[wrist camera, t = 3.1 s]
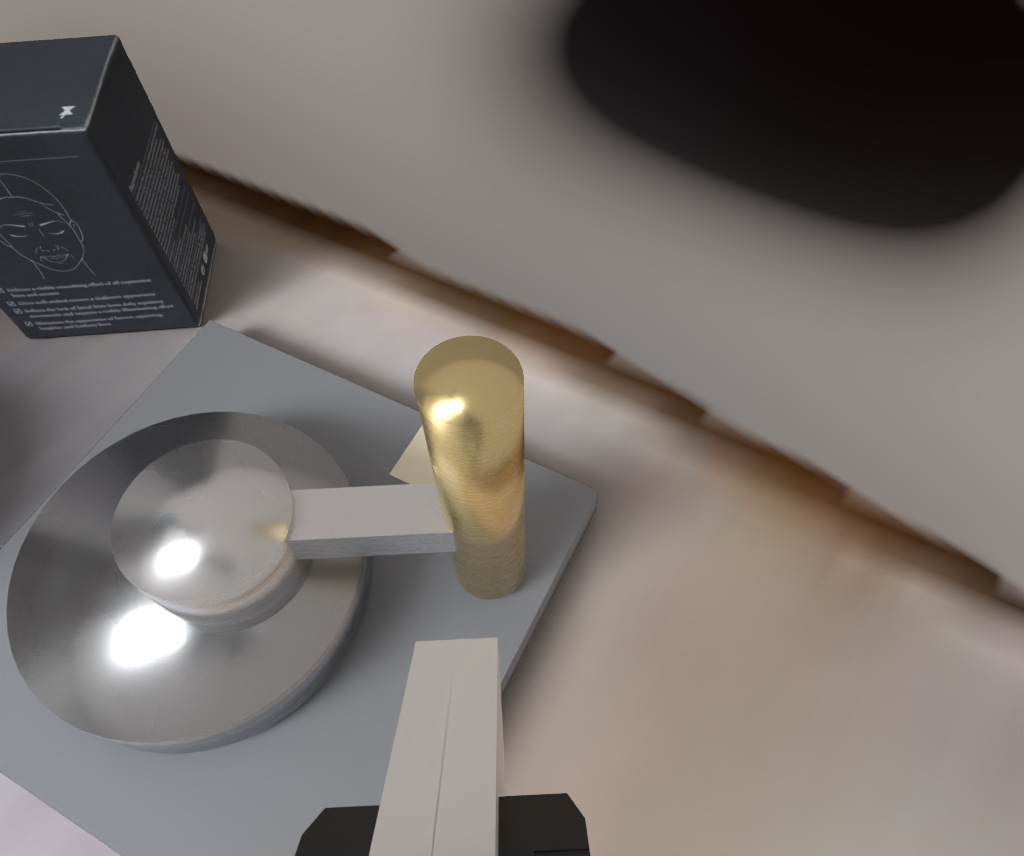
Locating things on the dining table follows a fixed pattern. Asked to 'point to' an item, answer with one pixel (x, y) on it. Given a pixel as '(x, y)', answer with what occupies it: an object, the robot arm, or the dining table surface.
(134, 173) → the box
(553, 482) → the stand
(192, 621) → the crank handle
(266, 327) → the dining table surface
